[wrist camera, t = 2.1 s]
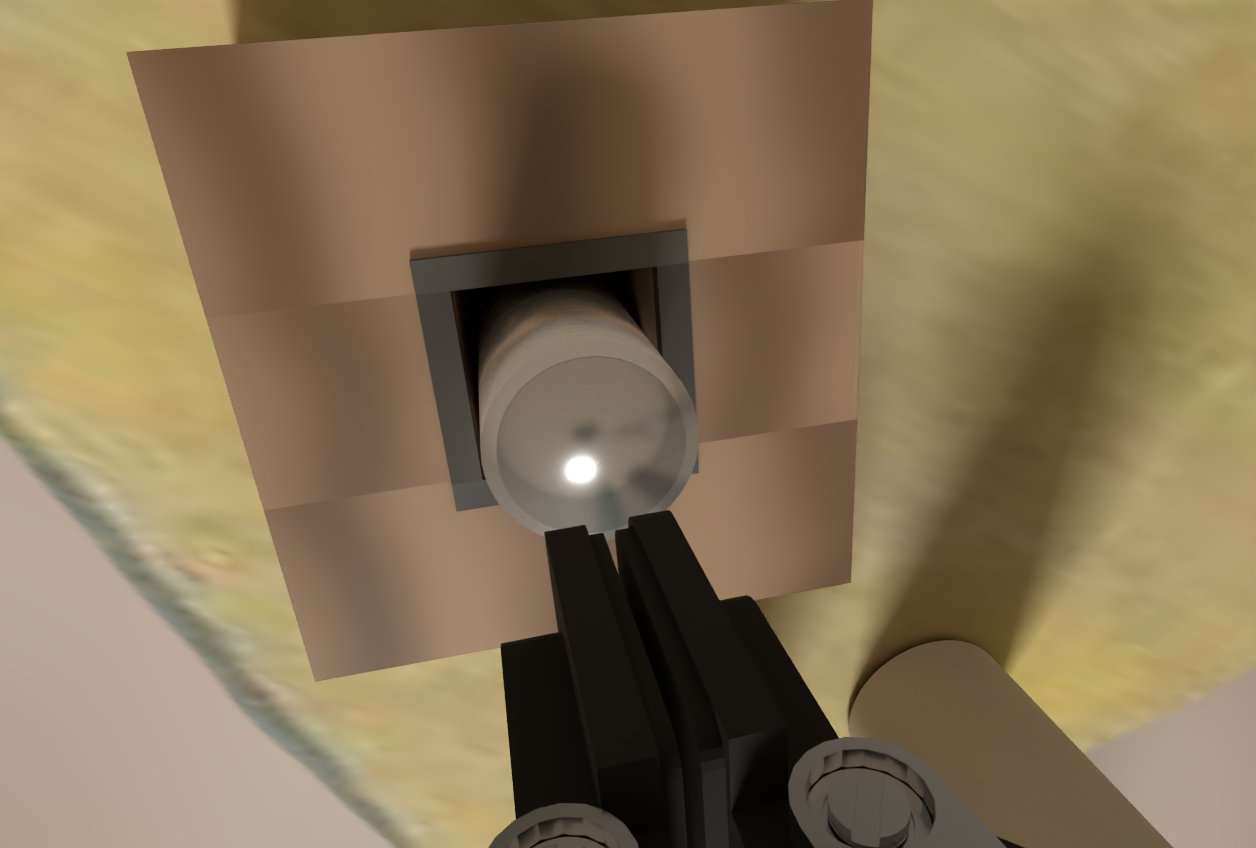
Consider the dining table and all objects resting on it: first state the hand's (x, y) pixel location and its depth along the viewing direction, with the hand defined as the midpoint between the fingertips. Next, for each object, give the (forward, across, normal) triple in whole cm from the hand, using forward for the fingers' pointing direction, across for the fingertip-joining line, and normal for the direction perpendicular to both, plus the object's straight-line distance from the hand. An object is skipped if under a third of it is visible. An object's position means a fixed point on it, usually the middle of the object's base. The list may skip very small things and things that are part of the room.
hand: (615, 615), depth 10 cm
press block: (+18, -1, 0) cm, 18 cm away
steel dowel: (+14, -1, 0) cm, 14 cm away
